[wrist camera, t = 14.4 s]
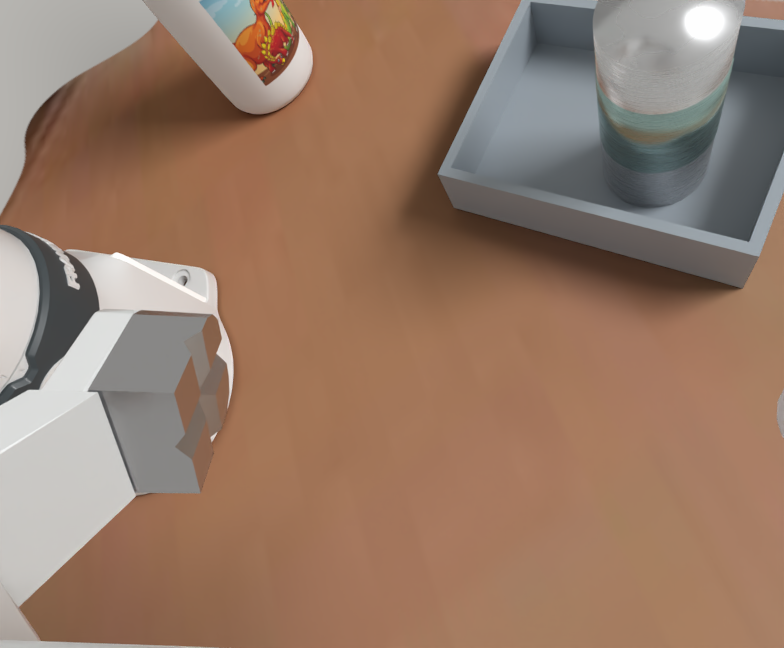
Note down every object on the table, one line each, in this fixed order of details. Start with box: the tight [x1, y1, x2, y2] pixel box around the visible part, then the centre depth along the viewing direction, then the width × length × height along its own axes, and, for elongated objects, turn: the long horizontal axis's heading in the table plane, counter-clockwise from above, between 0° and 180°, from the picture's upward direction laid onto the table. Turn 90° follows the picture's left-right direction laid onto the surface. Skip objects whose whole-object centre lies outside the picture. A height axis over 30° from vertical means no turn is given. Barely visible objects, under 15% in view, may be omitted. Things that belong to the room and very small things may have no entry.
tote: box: [438, 0, 784, 288], centre depth 35 cm, size 17×13×4 cm
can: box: [593, 0, 745, 208], centre depth 30 cm, size 6×6×12 cm
